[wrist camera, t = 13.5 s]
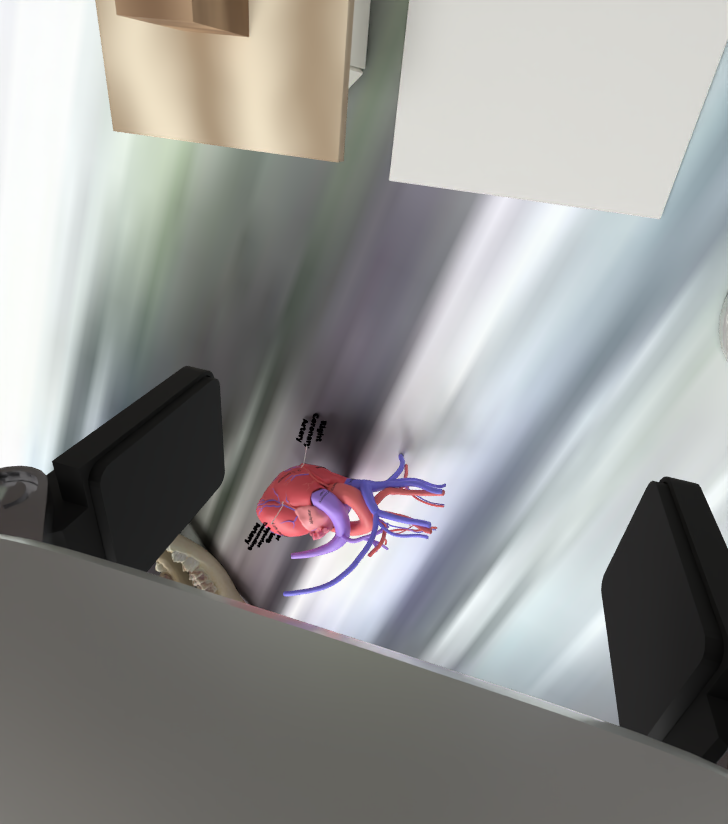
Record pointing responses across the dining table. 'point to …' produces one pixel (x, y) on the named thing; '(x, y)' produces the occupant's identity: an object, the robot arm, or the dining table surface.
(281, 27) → the birch lid
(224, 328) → the dining table surface
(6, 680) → the robot arm
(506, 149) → the grey mat
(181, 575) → the jawbone
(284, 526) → the heart model
